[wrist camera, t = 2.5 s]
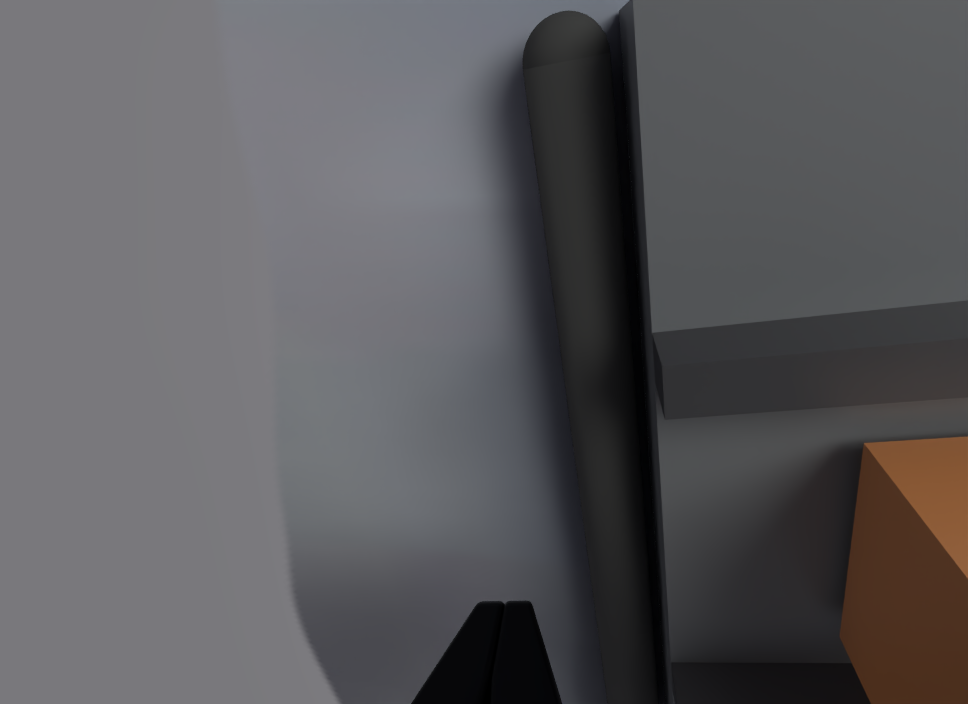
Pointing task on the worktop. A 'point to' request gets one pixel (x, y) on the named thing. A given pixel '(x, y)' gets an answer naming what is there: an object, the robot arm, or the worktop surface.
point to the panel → (788, 308)
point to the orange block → (910, 573)
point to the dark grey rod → (594, 330)
